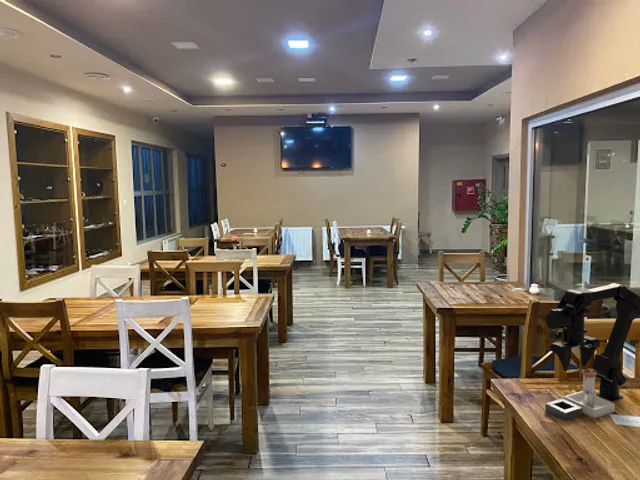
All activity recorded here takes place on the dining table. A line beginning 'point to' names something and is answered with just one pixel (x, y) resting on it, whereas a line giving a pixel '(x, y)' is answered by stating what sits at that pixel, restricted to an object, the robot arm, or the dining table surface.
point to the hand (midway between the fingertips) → (574, 368)
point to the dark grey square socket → (563, 409)
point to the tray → (600, 408)
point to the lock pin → (589, 387)
